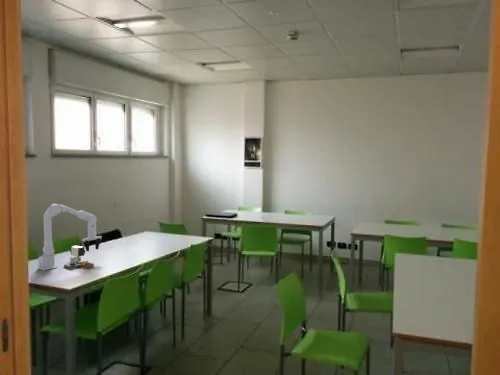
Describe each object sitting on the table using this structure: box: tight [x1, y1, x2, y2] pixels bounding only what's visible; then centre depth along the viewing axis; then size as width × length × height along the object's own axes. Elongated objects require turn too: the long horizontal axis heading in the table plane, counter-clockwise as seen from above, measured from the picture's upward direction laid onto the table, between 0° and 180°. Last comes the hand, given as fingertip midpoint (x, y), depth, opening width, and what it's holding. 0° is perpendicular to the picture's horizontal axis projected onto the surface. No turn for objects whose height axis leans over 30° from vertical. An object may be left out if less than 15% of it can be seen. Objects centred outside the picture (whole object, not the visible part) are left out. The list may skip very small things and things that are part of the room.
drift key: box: [77, 259, 89, 264], centre depth 300 cm, size 7×2×3 cm, turn 144°
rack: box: [81, 262, 95, 270], centre depth 294 cm, size 6×6×3 cm
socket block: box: [63, 262, 82, 270], centre depth 293 cm, size 8×8×2 cm
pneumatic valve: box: [69, 244, 86, 263], centre depth 311 cm, size 6×12×12 cm, turn 59°
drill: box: [69, 256, 76, 266], centre depth 293 cm, size 3×3×7 cm
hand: (92, 250), depth 305 cm, fingers open, 7 cm apart
